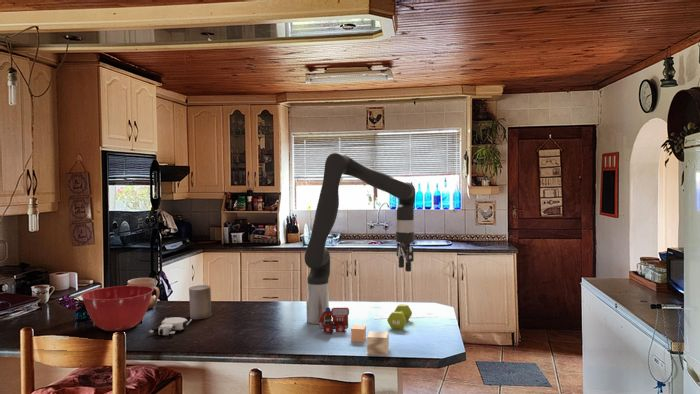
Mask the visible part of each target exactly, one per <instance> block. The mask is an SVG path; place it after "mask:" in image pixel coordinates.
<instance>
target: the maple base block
mask: <svg viewBox="0 0 700 394" xmlns="http://www.w3.org/2000/svg"><path fill="white" fill-rule="evenodd" d="M389 334H390V333H389V331H375V330H374V331H371V330H369V331H368V334H367V335H366V352H367V354H366V355H372V354H386V355H385V356H388V355H387V352H388V349H389V348H390V344H389V343H390V341H389V339H390V338H389Z"/></svg>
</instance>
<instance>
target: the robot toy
mask: <svg viewBox="0 0 700 394" xmlns="http://www.w3.org/2000/svg"><path fill="white" fill-rule="evenodd" d="M192 320H193V319H192V318H190V319H189V321H188V319H186V318H184V317H179V316H178V317H175V316H174V317H165V318H164V319H163V320H161V322H160V325H159V326H156V327H153V328H152V329H150V330H148V333H150V334H152V333H153V334H156V333H158V335H160V336H170V335H175V333H176V331H182V330H184V329H185V328H186V327H188V325H189V324H190V322H192ZM169 334H170V335H169Z"/></svg>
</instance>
